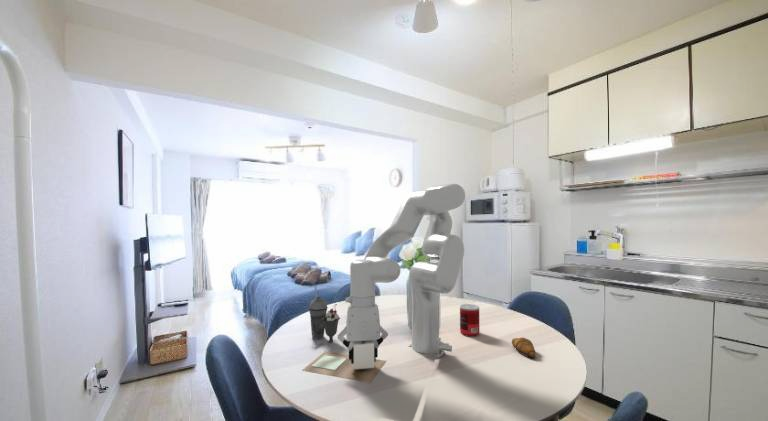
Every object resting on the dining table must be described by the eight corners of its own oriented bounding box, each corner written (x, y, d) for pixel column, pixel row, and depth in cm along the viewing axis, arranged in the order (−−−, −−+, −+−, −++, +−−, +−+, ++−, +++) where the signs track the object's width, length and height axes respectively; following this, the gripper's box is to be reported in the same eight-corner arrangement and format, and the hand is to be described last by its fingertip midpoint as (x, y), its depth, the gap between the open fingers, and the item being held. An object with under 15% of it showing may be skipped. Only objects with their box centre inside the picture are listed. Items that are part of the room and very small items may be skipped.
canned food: (481, 332, 127) (481, 305, 127) (476, 338, 120) (476, 310, 120) (463, 328, 131) (463, 302, 131) (457, 334, 124) (457, 307, 124)
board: (386, 365, 97) (386, 360, 97) (370, 388, 83) (370, 381, 84) (325, 355, 104) (325, 350, 104) (301, 375, 90) (301, 369, 90)
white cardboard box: (374, 367, 90) (374, 342, 90) (353, 369, 89) (353, 344, 89) (371, 358, 96) (371, 335, 96) (352, 360, 95) (352, 336, 95)
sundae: (343, 343, 114) (343, 303, 115) (334, 351, 108) (335, 308, 108) (327, 341, 116) (328, 301, 117) (318, 348, 110) (318, 306, 110)
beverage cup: (325, 341, 117) (325, 288, 117) (306, 340, 117) (306, 288, 118) (328, 334, 124) (329, 284, 125) (311, 333, 124) (311, 284, 125)
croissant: (543, 360, 101) (543, 344, 102) (524, 360, 101) (523, 345, 101) (522, 343, 115) (522, 330, 115) (505, 344, 114) (505, 330, 115)
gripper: (334, 305, 88) (334, 369, 87) (392, 302, 90) (393, 364, 90) (334, 299, 95) (334, 357, 95) (388, 296, 98) (389, 353, 97)
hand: (363, 360), depth 92 cm, fingers closed on white cardboard box, 6 cm apart
